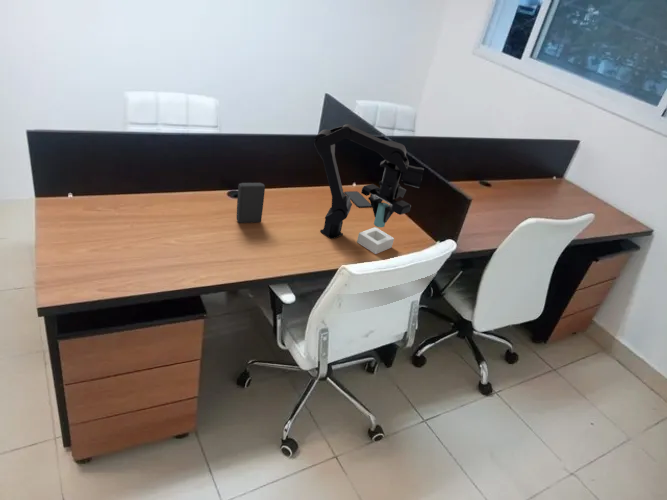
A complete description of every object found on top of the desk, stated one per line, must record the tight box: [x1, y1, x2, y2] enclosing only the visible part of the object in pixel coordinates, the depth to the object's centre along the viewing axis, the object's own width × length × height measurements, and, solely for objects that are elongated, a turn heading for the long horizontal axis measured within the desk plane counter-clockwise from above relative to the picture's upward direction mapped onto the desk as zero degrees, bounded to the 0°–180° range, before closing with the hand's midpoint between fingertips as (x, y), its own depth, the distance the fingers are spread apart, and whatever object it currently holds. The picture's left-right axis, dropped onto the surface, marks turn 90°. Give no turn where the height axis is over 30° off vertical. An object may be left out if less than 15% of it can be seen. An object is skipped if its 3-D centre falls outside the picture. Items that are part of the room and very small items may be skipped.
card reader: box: [236, 182, 266, 224], centre depth 174 cm, size 9×4×15 cm, turn 113°
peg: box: [373, 202, 390, 228], centre depth 172 cm, size 4×4×8 cm
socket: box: [356, 226, 395, 255], centre depth 178 cm, size 9×9×4 cm
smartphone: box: [343, 190, 372, 209], centre depth 210 cm, size 7×1×15 cm
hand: (380, 219), depth 173 cm, fingers closed on peg, 4 cm apart
